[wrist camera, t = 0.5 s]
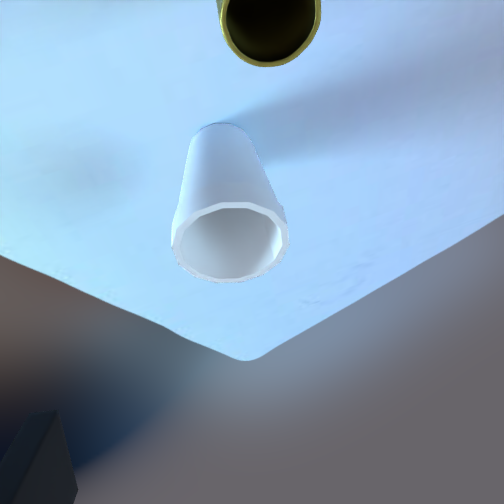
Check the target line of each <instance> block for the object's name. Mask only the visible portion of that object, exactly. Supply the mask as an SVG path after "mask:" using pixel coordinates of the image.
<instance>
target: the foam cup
mask: <svg viewBox="0 0 504 504" xmlns="http://www.w3.org/2000/svg"><path fill="white" fill-rule="evenodd" d="M289 245H290V244H289V235H288V227H287V222H286V218H285V214H284V209H283V206H282V205H281V204H280V203H279V202H278V200H277V198H276V196H275V194H274V191H273V189H272V187H271V184H270V182H269V180H268V177H267V175H266V173H265V171H264V168H263V166H262V164H261V161H260V159H259V157H258V154H257V152H256V150H255V148H254V145H253V143H252V142H251V139H250V138H249V137H248V135H247V134H246V133H245V132H244V131H243V129H240V128H238V127H236V126H234V125H232V124H222V123H214V124H212V125H209V126H207V127H205V128H202V129H200V131H199V132H198V133H197V134H196V135H195V136H194V137H193V138H192V140H191V144H190V147H189V152H188V156H187V161H186V166H185V172H184V177H183V182H182V188H181V193H180V198H179V204H178V207H177V209H176V212H175V216H174V220H173V224H172V250H173V252H174V255H175V257H176V260H177V262H178V265H180V266H181V267H182V268H184V269H185V270H186V271H187V272H189V273H190V274H191V275H193V276H194V277H196V278H200V279H204V280H207V281H211V282H214V283H236V282H243V281H246V280H249V279H253V278H256V277H259V276H262V275H264V274H265V273H267V272H268V271H269V270H271V269H272V268H273V267H275V266H276V265H277V264H279V263H280V262H281V260H282V258H283V256H284V255H285V253H286V251H287V249H288V247H289Z"/></svg>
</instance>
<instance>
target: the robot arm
mask: <svg viewBox="0 0 504 504" xmlns="http://www.w3.org/2000/svg"><path fill="white" fill-rule="evenodd" d="M77 492H78V488H77V484H76V480H75V475H74V471H73V467H72V463H71V459H70V456H69V452H68V448H67V443H66V439H65V435H64V431H63V427H62V423H61V419H60V415H59V411H58V410H53V411H44V412H35V413H29V415H28V417H27V419H26V420H25V422H24V424H23V425H22V427H21V428H20V430H19V432H18V434H17V435H16V437H15V439H14V440H13V442H12V444H11V446H10V447H9V449H8V450H7V452H6V454H5V456H4V457H3V459H2V461H1V462H0V504H73V503H74V500H75V497H76V494H77Z"/></svg>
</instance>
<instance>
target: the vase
mask: <svg viewBox="0 0 504 504" xmlns="http://www.w3.org/2000/svg"><path fill="white" fill-rule="evenodd" d="M216 2H217V8H218V14H219V21H220V26H221V30H222V33H223V36H224V39H225V41H226V43H227V44H228V46H229V47H230V48H231V50H232V51H233V52H234V53H235V54H236V55H237V56H238V57H239V58H240V59H242V60H243V61H245V62H247V63H249V64H251V65H254V66H258V67H274V66H280V65H284V64H286V63H288V62H290V61H292V60H293V59H295V58H296V57H298V56H299V55H300V54H301V53H302V52H303V51H304V50H305V49H306V48H307V47H308V45H309V44H310V43H311V41H312V40H313V38H314V36H315V34H316V32H317V30H318V27H319V25H320V20H321V0H216Z"/></svg>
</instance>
